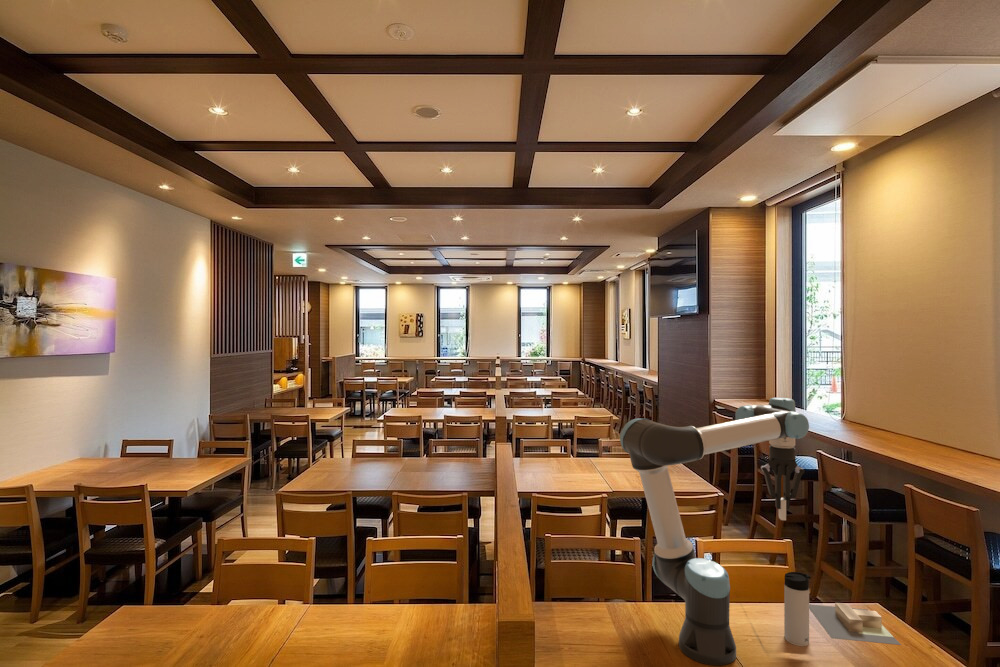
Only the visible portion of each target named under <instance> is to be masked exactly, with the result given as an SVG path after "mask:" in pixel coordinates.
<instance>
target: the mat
mask: <svg viewBox="0 0 1000 667" xmlns="http://www.w3.org/2000/svg"><path fill="white" fill-rule="evenodd" d="M851 608H852V609H856V607H855V608H853V607H851ZM857 609H858V610H868V609H867V608H866V609H865V608H857ZM809 611H810V612H811V613H812V614H813V615H814V617H815V618H816V619H817V621H818V623H819V624H820V625H821V626H822V628H823V629H824V630H825V631H826V633H827V634H828V636H829V637H830V638H831V639H835V640H836V639H837V640H849V641H856V642H857V641H859V642H869V643H878V644H885V645H886V644H887V645H897V646H898V645H899V646H901V645H902V644H901V643H900V642H899V640H897V639H896V638H895V637H894V636H893V634H891V632H890V631H889V630H888V629H887V628H886V627H885V626H884V625H883V624H882V629H879V628H869V627H863V632H854V631H849V630H848V629H847V627H846V626H845V625H844V624H843V623H842V621H841V620H840V619H839V618H838V617H837V615H836V614H835V606H833V605H831V606H830V605H822V604H821V605H819V604H810V603H809Z"/></svg>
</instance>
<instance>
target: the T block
mask: <svg viewBox="0 0 1000 667" xmlns="http://www.w3.org/2000/svg"><path fill="white" fill-rule="evenodd" d="M834 604H835V605H834V607H835V614H836V615H837V617H838V618H839V619H840V620H841V621H842V623H843V624H844V625H845V626H846V627H847V629H848V630H849V631H854V632H863V627H869V628H879V629H882V625H883V624H882V623H883V620H882V619H883V618H882V615H880V614H879V613H878V611H876V610H869V609H867V610H858V609H859V608H855V609H852V608H853V607H851V606H850V605H849V604H848V603H843V602H835V603H834Z"/></svg>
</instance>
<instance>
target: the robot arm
mask: <svg viewBox="0 0 1000 667" xmlns="http://www.w3.org/2000/svg"><path fill="white" fill-rule="evenodd" d="M809 429H810V423H809V420H808V418H807V416H805V415H804V414H802V413H800V412H797V411H796V401H795V400H794V399H792V398H789V397H788V398H787V397H770V398H769V400H768V404H764V405H762V404H759V405H756V404H755V405H750V404H747V405H741V406H738V408H737V409H736V411H735V420H731V421H725V422H721V423H715V424H711V425H706V426H701V427H695V426H693V425H688V426H672V425H666V424H663V423H660V422H656V421H653V420H651V419H649V418H638V417H637V418H634V419H633V418H632V419H631V420H629V421H628V422H626V423H625V425H624V426H623V428H622V429H621V432H620V434H619V442H620V445H621V448H622V449H623V450H624V451H625V453H627V454H628V456H629V458H630V462H631V466H632V469H633V470H635V471H637V472H639V477H640V481H641V484H642V488H643V492H644V496H645V500H646V504H647V508H648V511H649V515H650V519H651V524H652V528H653V531H654V534H655V538H656V544H655V546H654V555H653V557H652V561H651V562H652V564H651V565H652V568H653V571H654V574H655V575H656V577H657V578H658V579H659V580H660V581H661V583H662V584H664V585H665V586H667V587H668V588H670V590H671V591H673V592H674V593H675V594H677V595H678V596H679V597H680V598H682V599H683V600H684V606H685V608H684V610H685V611H684V612H685V613H684V614H685V615H684V617H685V618H684V620H683V624H682V626H681V629H680V632H679V635H678V636H679V637H678V647H679V649H680V651H681V652H682V653H683V654H684V655H685V656H687V657H688V658H690V659H691V660H694V661H696V662H699V663H701V664H705V665H710V666H726V665H729V664H732V663H733V662H734V661H735V660H736V658H737V646H736V641H735V639H734V636H733V633H732V630H731V627H730V626H731V625H730V600H731V599H730V595H731V594H730V591H731V584H730V577H729V573H728V571H727V570H726V569H725V567H723V565H721V564H719V563H718V562H717V561H714V560H710V559H708V558H707V559H706V558H702V557H701V558H700V557H696V552H695V549H694V545H693V543H692V542H691V541H690V540H689V539H687V538H686V537H687V536H686V534H685V531H684V530H685V529H684V525H683V522H682V518H681V514H680V510H679V507H678V503H677V498H676V495H675V491H674V486H673V484H672V479H671V476H670V472H669V466H675V465H680V464H686V463H691V462H695V461H700V460H701V459H703V457H704V455H709V454H714V453H719V452H723V451H728V450H731V449H736V448H742V447H747V446H749V445H755V444H758V443H765V442H768V443H769V444H770V445H769V446H768V448H769V452H768V454H769V455H768V458H769V459H768V460H767V463H766V464H765V465H761V466H760V467H759V468H760V470H761V471H762V472H763V476H764V479H765V483H766V486H767V487H766V488H767V492H768V494H769V495H770V496H771V497H772V498H774V501H775V502H774V503H775V504H774V506H775V508H776V509H777V510H778V519H779V520H780V521H787V510H790V501H791V499H796V497H797V495H798V491H799V486H800V483H801V478H802V476H803V474H805V472H806V471H805V469H804V468H803V467H801V466H799V465H798V464H797V461H796V447H795V446H796V439H803V438H804V437H806V436H807V434H808V432H809ZM770 469H771V470H770ZM770 471H773V473H774V486H773V481H772V478H771V474H770ZM793 472H794V475H793V479H792V483H791V474H792V473H793ZM782 480H783V486H782ZM782 487H783V488H782ZM782 493H783V497H782Z"/></svg>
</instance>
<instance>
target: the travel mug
mask: <svg viewBox="0 0 1000 667" xmlns="http://www.w3.org/2000/svg"><path fill="white" fill-rule="evenodd" d="M810 580H811V576H810V575H809V573H804V572H799V571H790V572H786V573H785V574H784V583H783V584H784V589H783V590H784V591H783V592H784V600H783V602H784V604H783V606H784V609H783V610H784V611H783V612H784V614H783V615H784V627H783V628H784V630H783V632H784V639H785V641H786V642H788V643H789V644H792V645H794V646H798V647H806V646H809V645H810V609H809V604H810Z"/></svg>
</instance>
